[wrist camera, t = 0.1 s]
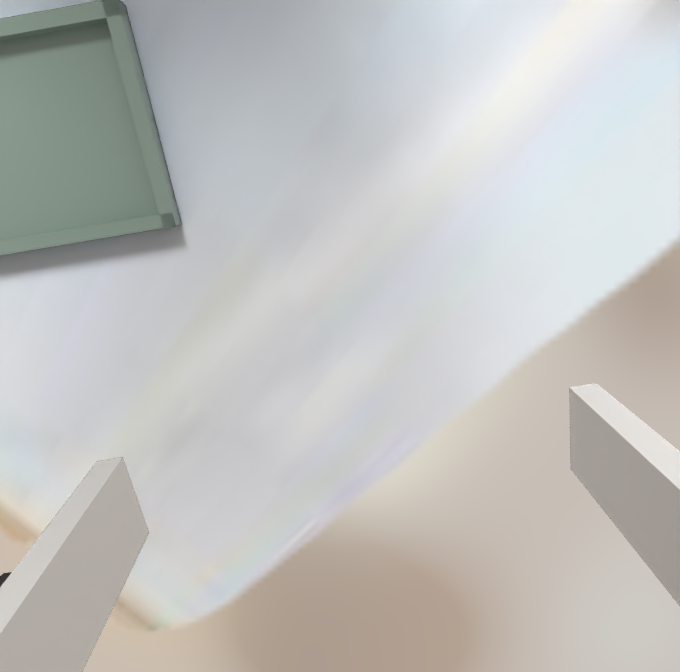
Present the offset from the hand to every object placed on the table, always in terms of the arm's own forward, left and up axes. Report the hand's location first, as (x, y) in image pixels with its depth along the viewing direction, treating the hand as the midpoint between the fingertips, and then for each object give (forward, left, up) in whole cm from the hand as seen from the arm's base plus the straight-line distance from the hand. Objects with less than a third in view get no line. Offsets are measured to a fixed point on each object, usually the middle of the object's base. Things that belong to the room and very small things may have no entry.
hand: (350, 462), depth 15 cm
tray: (-13, -21, -28) cm, 38 cm away
